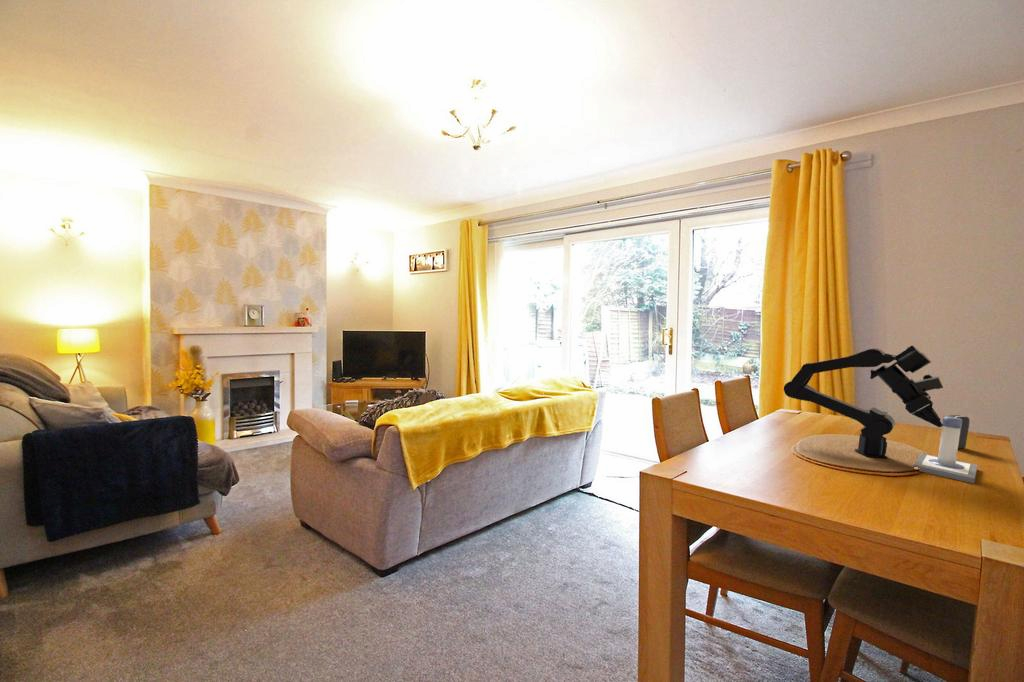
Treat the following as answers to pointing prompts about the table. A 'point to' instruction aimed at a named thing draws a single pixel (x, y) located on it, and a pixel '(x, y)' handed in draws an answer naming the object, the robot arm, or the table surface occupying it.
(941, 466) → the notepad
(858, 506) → the table surface
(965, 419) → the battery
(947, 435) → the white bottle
